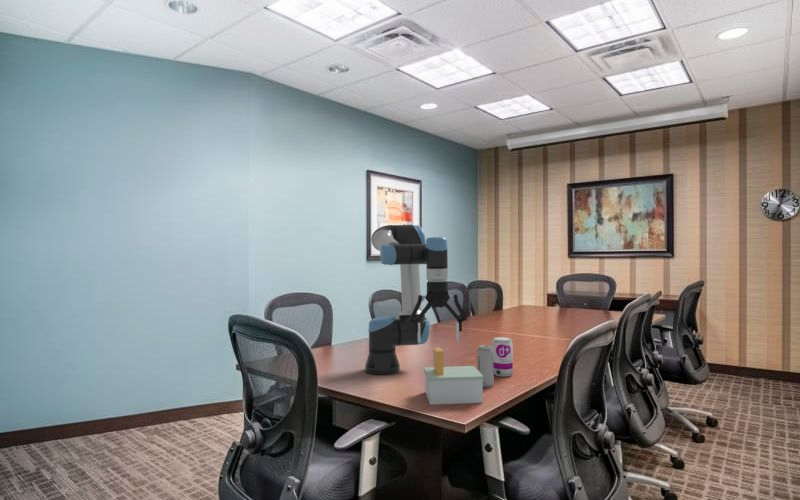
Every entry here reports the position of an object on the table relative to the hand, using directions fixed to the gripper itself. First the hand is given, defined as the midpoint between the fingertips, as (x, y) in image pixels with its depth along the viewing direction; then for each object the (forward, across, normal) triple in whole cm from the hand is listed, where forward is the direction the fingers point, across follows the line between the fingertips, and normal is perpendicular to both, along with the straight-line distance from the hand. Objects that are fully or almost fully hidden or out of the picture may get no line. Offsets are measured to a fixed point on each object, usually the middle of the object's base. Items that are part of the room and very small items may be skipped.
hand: (438, 341), depth 159 cm
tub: (+20, +5, 0) cm, 20 cm away
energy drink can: (+20, +20, +14) cm, 31 cm away
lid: (+13, +5, 0) cm, 14 cm away
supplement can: (+20, +31, +28) cm, 46 cm away
